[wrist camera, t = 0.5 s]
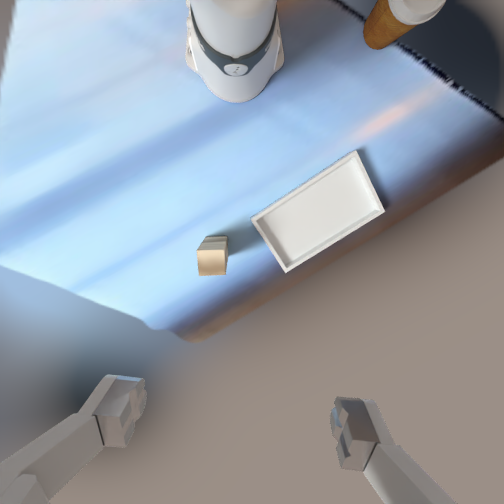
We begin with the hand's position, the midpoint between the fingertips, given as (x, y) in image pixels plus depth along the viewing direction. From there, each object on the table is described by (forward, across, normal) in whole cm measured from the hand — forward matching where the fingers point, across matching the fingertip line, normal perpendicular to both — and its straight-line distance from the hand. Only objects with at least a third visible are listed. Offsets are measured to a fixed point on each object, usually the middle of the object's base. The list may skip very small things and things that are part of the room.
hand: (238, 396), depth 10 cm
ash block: (+44, +9, +11) cm, 47 cm away
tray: (+47, -13, +2) cm, 49 cm away
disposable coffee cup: (+53, -20, -33) cm, 66 cm away
